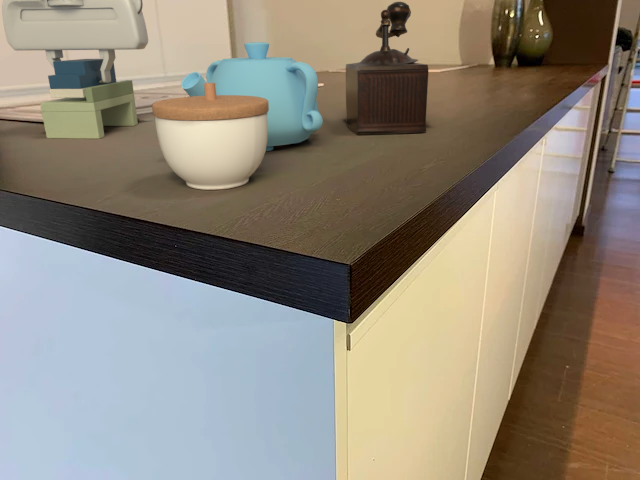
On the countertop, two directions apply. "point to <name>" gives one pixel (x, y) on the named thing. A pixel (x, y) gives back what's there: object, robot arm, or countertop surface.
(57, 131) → the shoe shelf
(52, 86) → the blue block cream base
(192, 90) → the teapot
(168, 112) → the white bowl with lid
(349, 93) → the manual coffee grinder
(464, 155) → the countertop surface
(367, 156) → the countertop surface
